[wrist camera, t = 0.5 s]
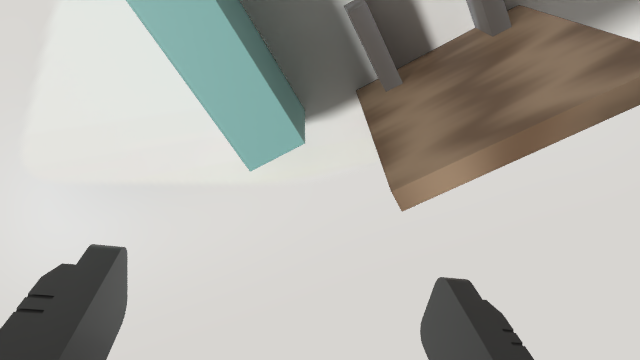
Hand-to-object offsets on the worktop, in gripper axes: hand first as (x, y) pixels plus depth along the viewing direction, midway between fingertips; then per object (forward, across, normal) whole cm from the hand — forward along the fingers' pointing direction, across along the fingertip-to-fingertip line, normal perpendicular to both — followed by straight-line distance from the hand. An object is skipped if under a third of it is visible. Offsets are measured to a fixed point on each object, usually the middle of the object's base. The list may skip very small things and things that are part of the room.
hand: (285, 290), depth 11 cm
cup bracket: (+20, -9, -6) cm, 23 cm away
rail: (+22, +4, -4) cm, 22 cm away
